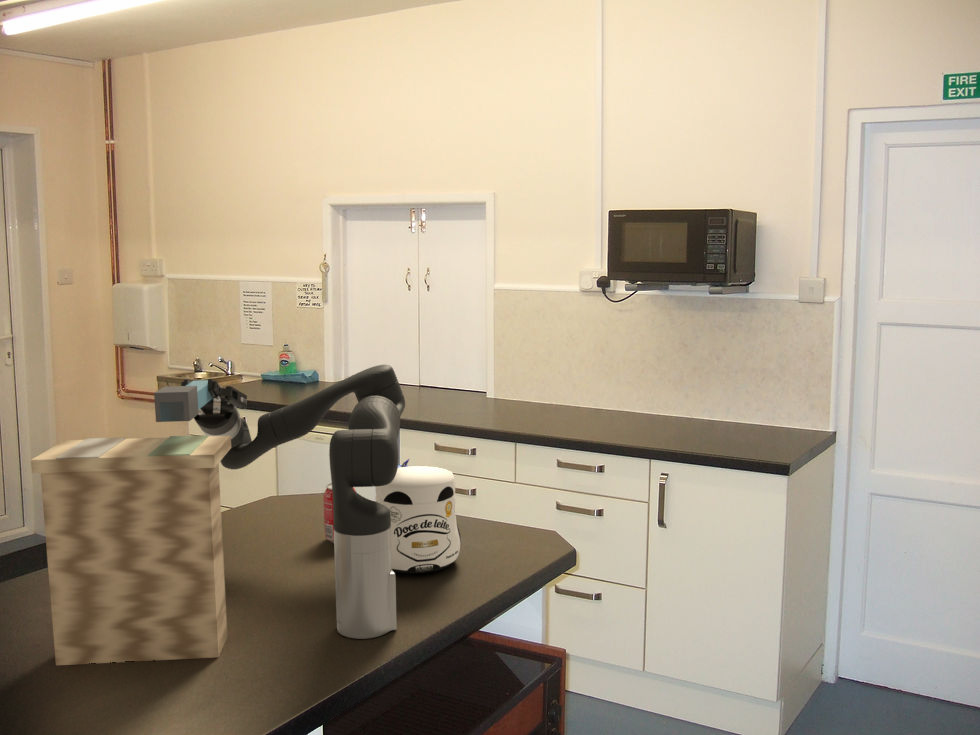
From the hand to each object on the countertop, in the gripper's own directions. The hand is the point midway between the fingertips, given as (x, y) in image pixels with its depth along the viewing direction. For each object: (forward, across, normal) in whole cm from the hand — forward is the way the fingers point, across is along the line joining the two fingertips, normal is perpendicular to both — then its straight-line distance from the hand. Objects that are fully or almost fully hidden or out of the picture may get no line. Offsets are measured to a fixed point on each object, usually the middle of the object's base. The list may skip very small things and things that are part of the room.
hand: (197, 384), depth 152 cm
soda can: (-47, -21, -18) cm, 54 cm away
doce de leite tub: (-33, -37, -27) cm, 56 cm away
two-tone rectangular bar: (+4, 0, -6) cm, 7 cm away
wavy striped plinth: (-6, +6, -42) cm, 43 cm away
